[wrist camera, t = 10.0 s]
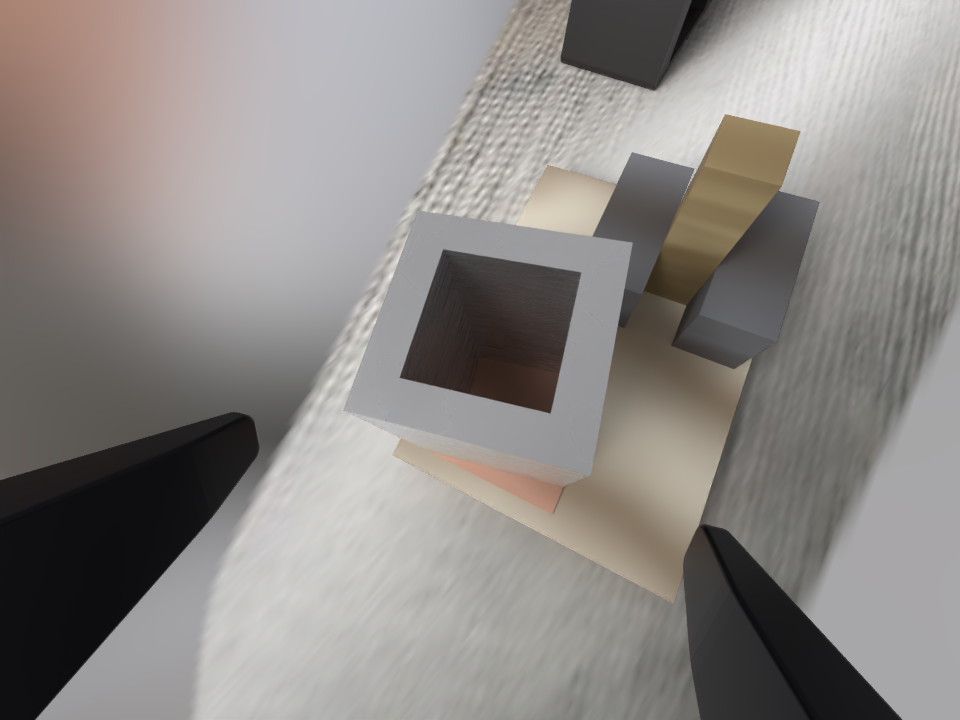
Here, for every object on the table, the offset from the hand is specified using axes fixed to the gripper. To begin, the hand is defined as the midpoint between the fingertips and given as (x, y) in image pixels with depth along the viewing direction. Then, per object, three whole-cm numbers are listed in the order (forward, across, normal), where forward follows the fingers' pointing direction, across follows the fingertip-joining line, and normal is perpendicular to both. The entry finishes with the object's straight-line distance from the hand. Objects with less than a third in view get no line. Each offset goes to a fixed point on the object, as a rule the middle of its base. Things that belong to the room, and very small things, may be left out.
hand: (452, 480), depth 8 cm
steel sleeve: (+8, 0, +3) cm, 9 cm away
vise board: (+12, -3, +2) cm, 12 cm away
